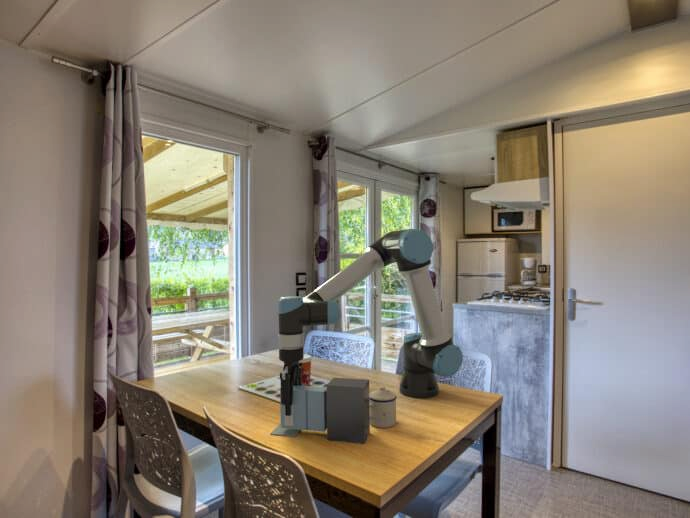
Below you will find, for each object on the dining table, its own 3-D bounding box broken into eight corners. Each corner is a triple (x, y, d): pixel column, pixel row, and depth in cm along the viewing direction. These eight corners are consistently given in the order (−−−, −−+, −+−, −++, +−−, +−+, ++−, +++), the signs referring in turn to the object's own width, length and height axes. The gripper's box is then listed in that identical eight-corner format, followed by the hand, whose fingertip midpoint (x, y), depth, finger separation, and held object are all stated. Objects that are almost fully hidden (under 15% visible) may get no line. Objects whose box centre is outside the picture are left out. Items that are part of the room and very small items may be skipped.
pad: (304, 426, 133) (304, 425, 133) (295, 437, 125) (295, 436, 125) (280, 424, 135) (280, 423, 135) (270, 434, 127) (270, 433, 127)
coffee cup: (309, 399, 158) (308, 359, 158) (288, 397, 160) (287, 358, 160) (315, 391, 166) (314, 354, 166) (295, 390, 168) (294, 353, 168)
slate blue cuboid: (328, 426, 129) (327, 387, 129) (324, 431, 125) (323, 391, 125) (285, 422, 133) (285, 384, 132) (280, 427, 129) (280, 388, 128)
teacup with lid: (382, 415, 142) (382, 380, 142) (402, 423, 135) (402, 387, 135) (356, 424, 134) (355, 388, 134) (375, 433, 127) (375, 395, 127)
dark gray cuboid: (369, 432, 128) (369, 379, 128) (364, 444, 120) (363, 387, 120) (331, 428, 131) (330, 377, 131) (323, 439, 123) (323, 385, 123)
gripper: (289, 340, 139) (290, 411, 139) (268, 352, 122) (269, 432, 122) (311, 341, 137) (312, 412, 137) (292, 353, 120) (293, 434, 121)
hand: (292, 421), depth 130 cm, fingers closed on slate blue cuboid, 4 cm apart
